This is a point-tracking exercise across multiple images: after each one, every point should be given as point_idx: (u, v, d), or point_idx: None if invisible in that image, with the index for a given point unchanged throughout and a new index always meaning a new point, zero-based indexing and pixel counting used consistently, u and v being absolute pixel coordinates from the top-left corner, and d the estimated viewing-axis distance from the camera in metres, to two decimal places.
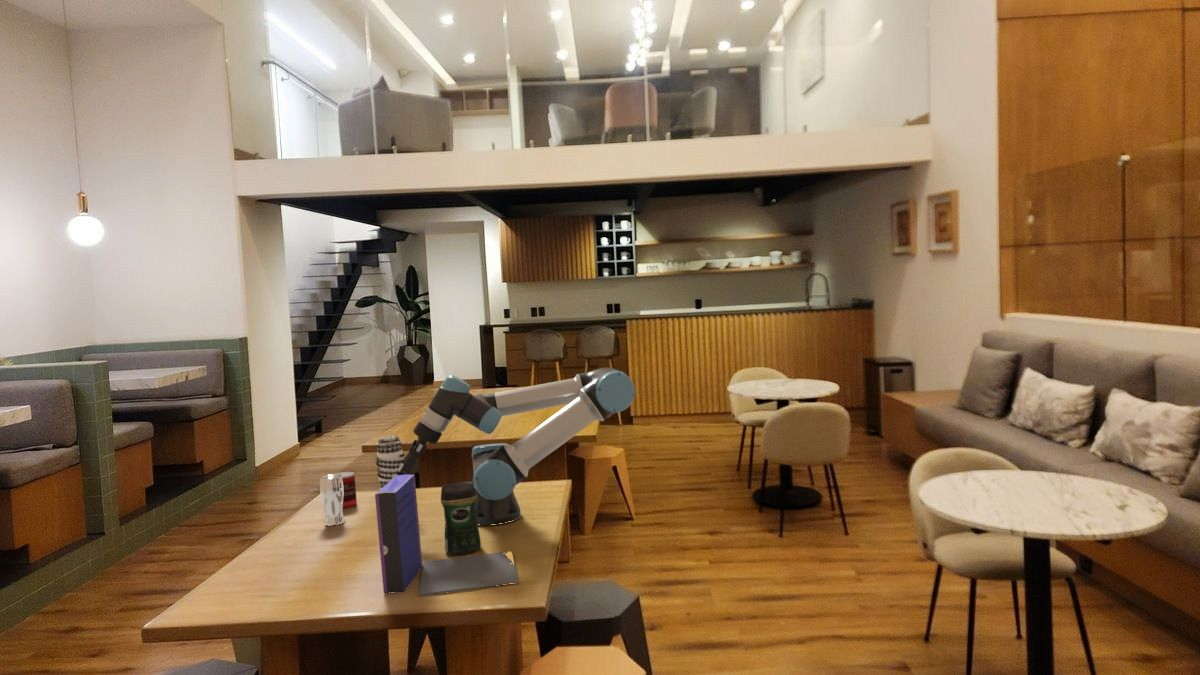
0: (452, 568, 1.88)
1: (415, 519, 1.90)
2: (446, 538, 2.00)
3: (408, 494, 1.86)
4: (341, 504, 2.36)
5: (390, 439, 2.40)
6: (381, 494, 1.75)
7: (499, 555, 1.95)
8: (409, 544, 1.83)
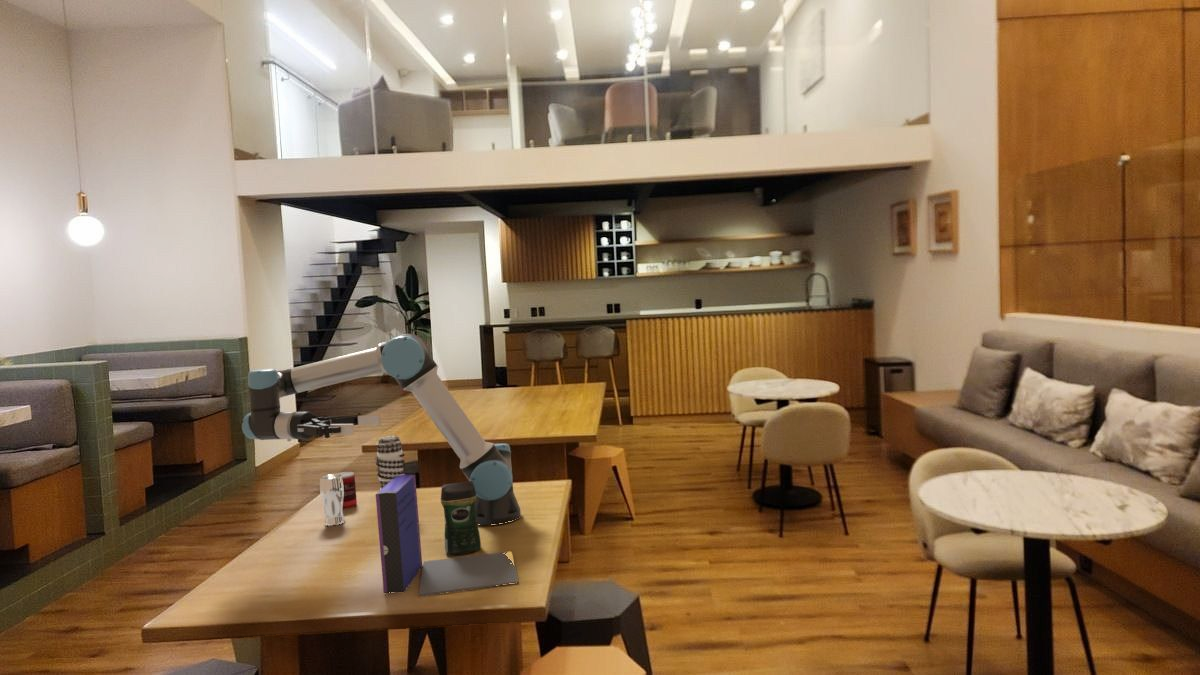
0: (452, 568, 1.88)
1: (415, 519, 1.90)
2: (446, 538, 2.00)
3: (409, 494, 1.86)
4: (341, 504, 2.36)
5: (390, 439, 2.40)
6: (382, 494, 1.75)
7: (499, 555, 1.95)
8: (409, 544, 1.83)
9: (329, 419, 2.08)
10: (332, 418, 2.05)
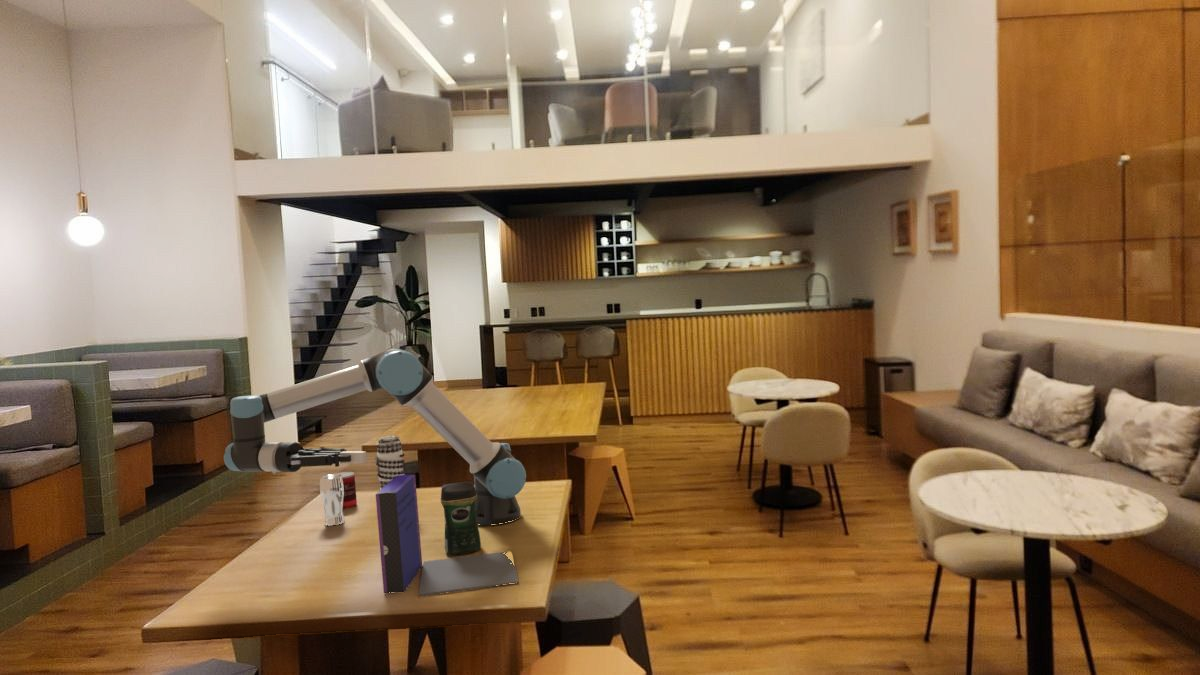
0: (452, 568, 1.88)
1: (415, 519, 1.90)
2: (446, 538, 2.00)
3: (409, 494, 1.86)
4: (341, 504, 2.36)
5: (390, 439, 2.40)
6: (382, 494, 1.75)
7: (499, 555, 1.95)
8: (409, 544, 1.83)
9: None
10: (317, 451, 1.89)
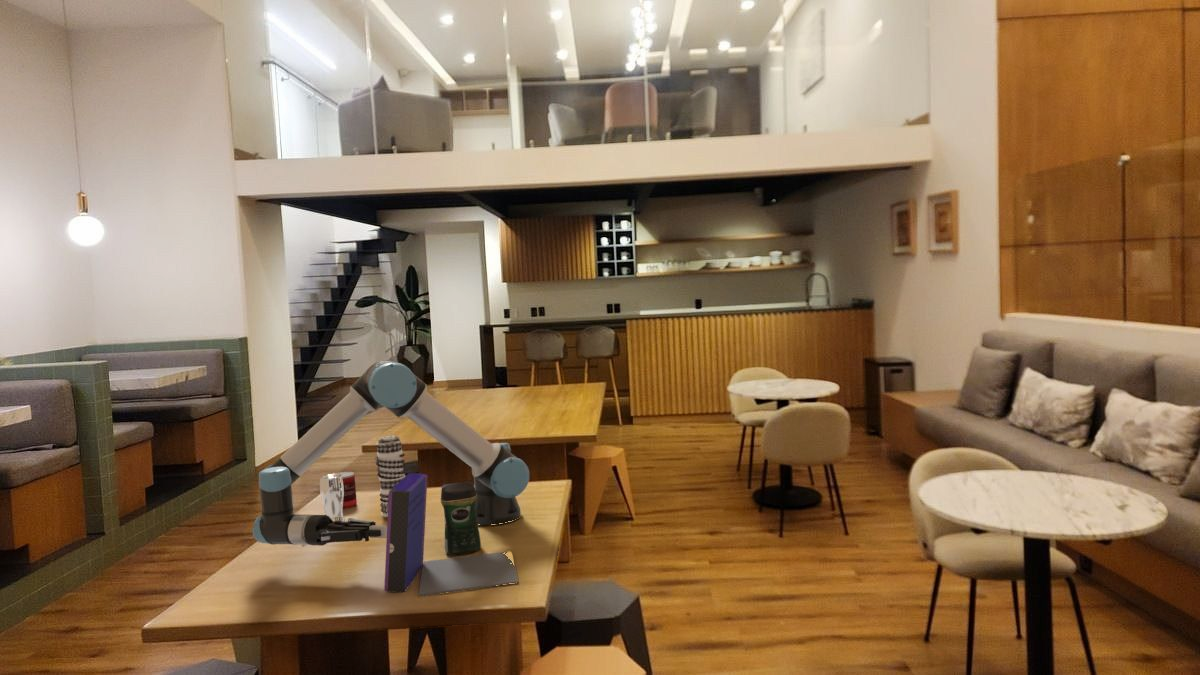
0: (452, 568, 1.88)
1: (422, 519, 1.90)
2: (446, 538, 2.00)
3: (420, 494, 1.86)
4: (341, 504, 2.36)
5: (390, 439, 2.40)
6: (395, 492, 1.75)
7: (499, 555, 1.95)
8: (414, 544, 1.83)
9: None
10: (346, 524, 1.89)
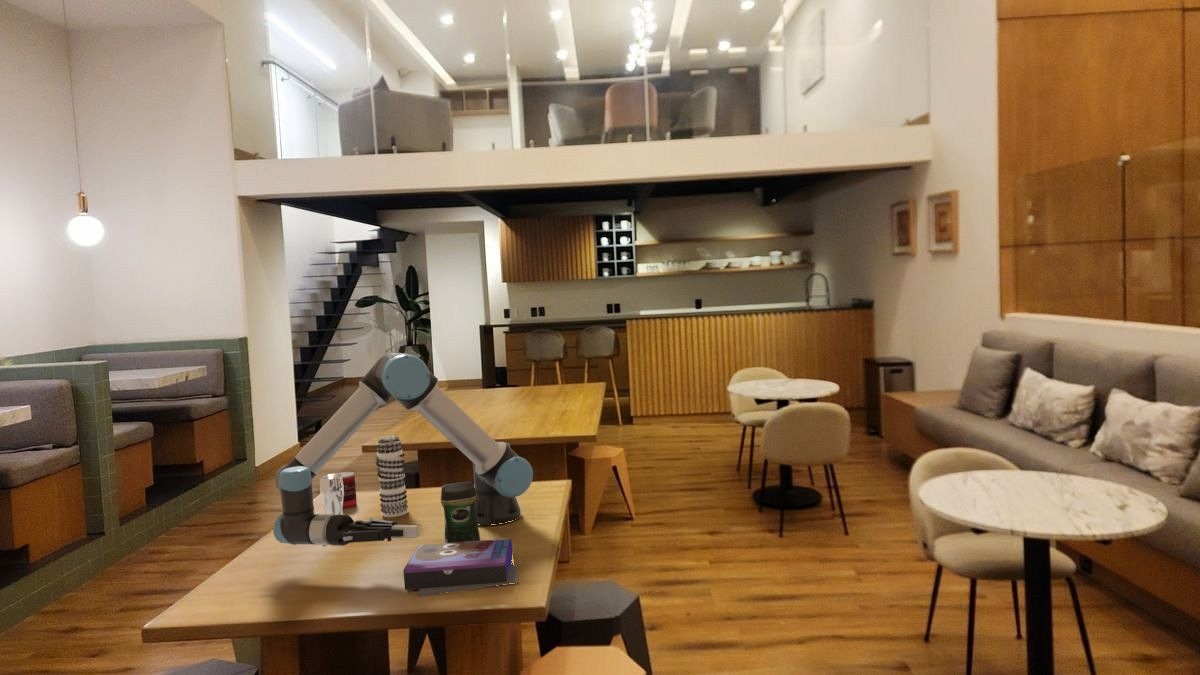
0: None
1: None
2: (446, 538, 2.00)
3: None
4: (341, 504, 2.36)
5: (390, 439, 2.40)
6: (504, 568, 1.77)
7: None
8: None
9: None
10: (367, 524, 1.87)
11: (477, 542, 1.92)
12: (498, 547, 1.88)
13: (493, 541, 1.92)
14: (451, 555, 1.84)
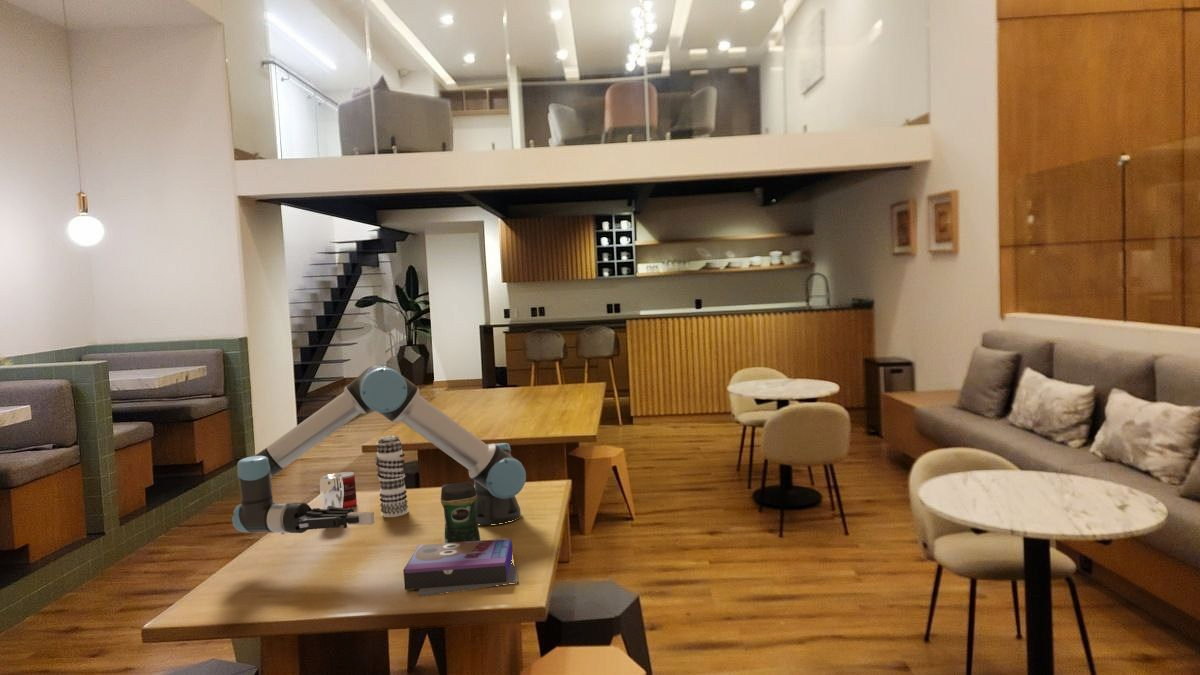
0: None
1: None
2: (446, 538, 2.00)
3: None
4: (341, 504, 2.36)
5: (390, 439, 2.40)
6: (504, 568, 1.77)
7: None
8: None
9: None
10: (324, 512, 1.90)
11: (477, 542, 1.92)
12: (498, 547, 1.88)
13: (493, 541, 1.92)
14: (451, 555, 1.84)
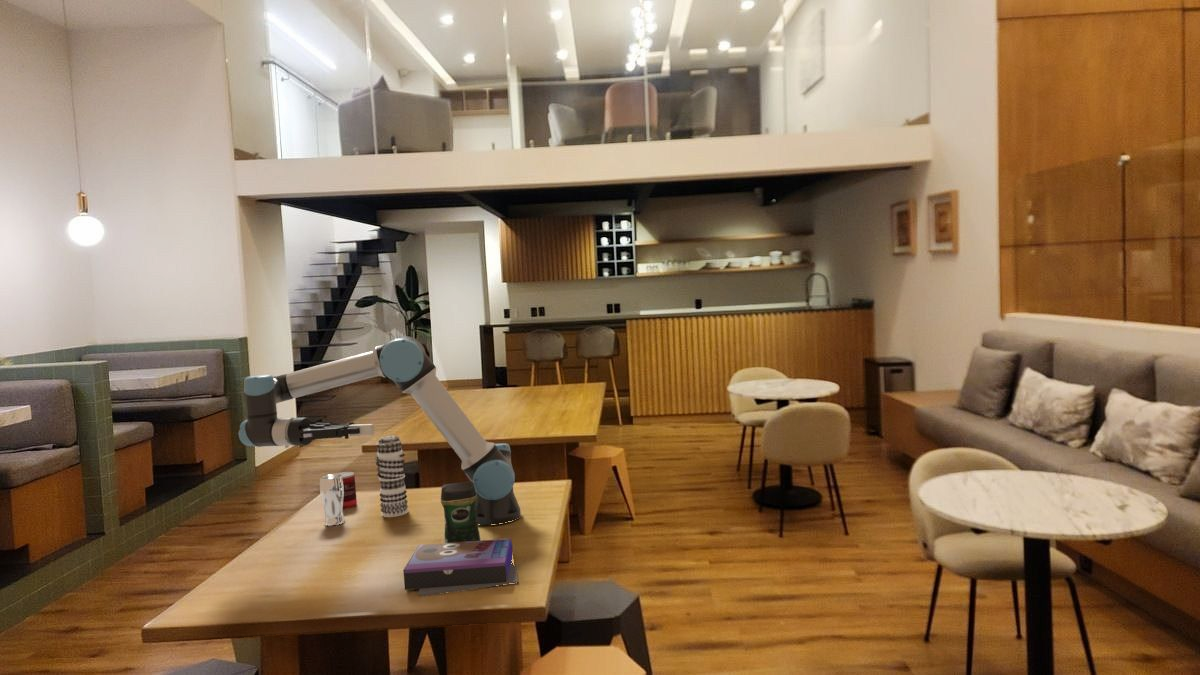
0: None
1: None
2: (446, 538, 2.00)
3: None
4: (341, 504, 2.36)
5: (390, 439, 2.40)
6: (504, 568, 1.77)
7: None
8: None
9: None
10: (327, 425, 2.01)
11: (477, 542, 1.92)
12: (498, 547, 1.88)
13: (493, 541, 1.92)
14: (451, 555, 1.84)
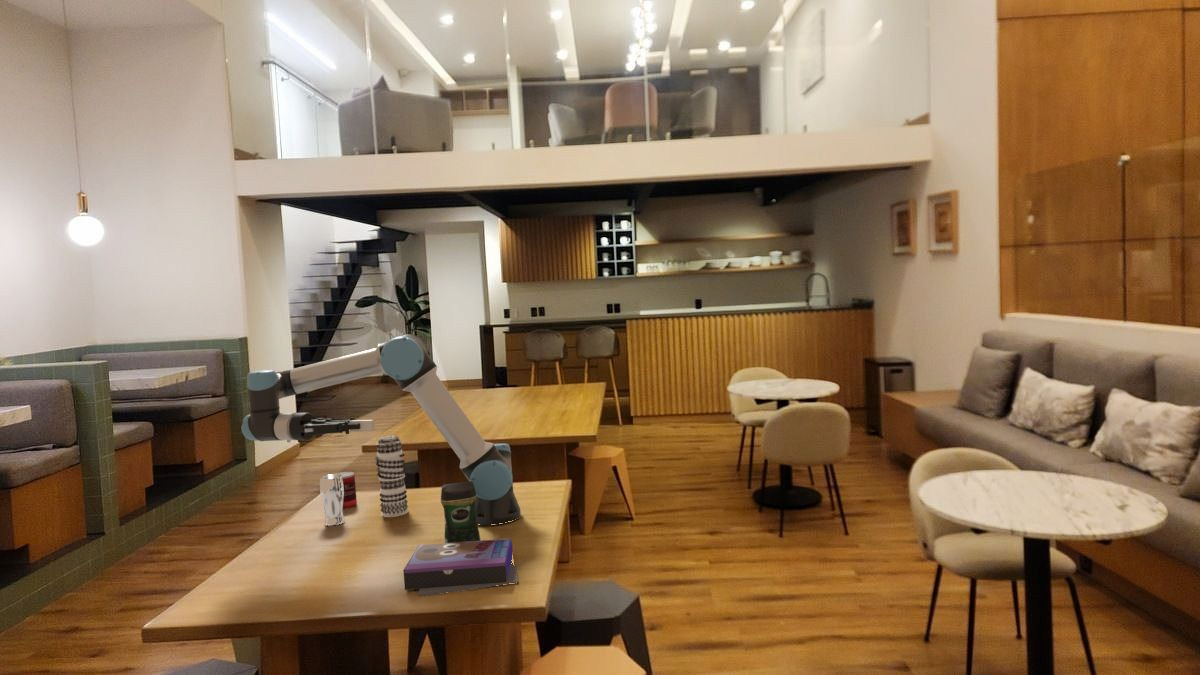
0: None
1: None
2: (446, 538, 2.00)
3: None
4: (341, 504, 2.36)
5: (390, 439, 2.40)
6: (504, 568, 1.77)
7: None
8: None
9: None
10: (328, 420, 2.03)
11: (477, 542, 1.92)
12: (498, 547, 1.88)
13: (493, 541, 1.92)
14: (451, 555, 1.84)
